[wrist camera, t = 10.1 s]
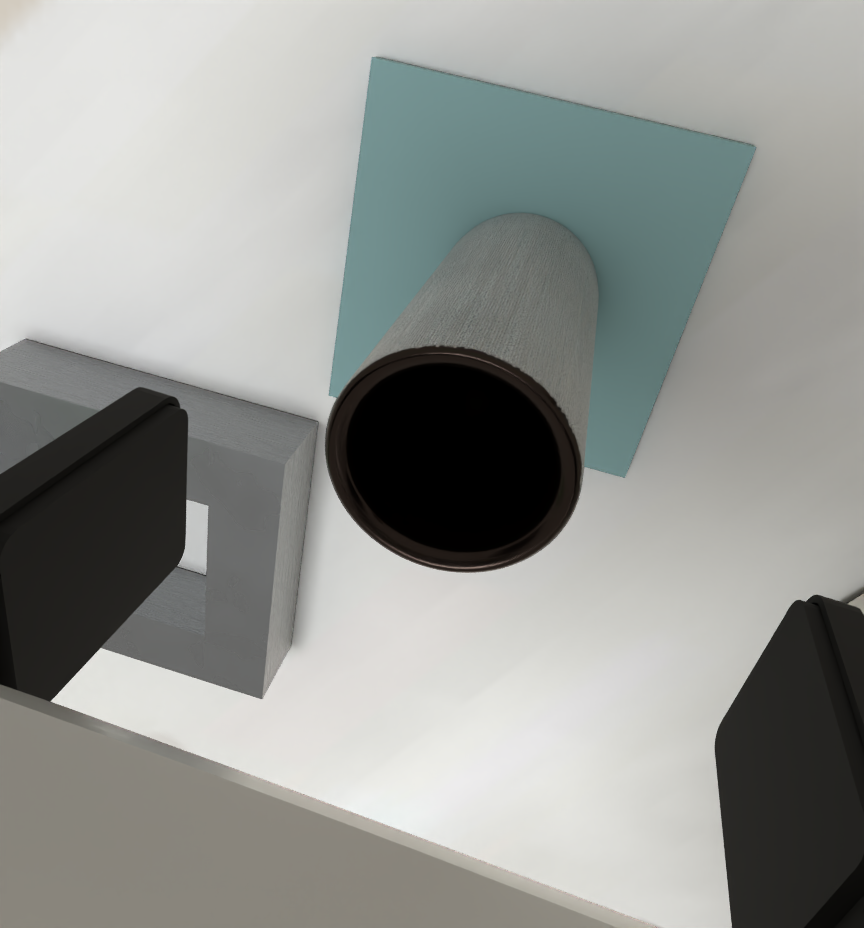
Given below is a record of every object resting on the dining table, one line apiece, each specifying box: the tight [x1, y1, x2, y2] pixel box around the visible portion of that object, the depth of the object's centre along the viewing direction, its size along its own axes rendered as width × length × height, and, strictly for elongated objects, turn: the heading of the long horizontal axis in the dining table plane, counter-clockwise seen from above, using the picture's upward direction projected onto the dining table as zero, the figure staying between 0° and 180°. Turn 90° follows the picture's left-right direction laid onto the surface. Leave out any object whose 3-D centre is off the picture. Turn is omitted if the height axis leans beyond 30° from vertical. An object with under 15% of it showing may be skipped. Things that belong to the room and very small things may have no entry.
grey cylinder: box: [325, 213, 599, 573], centre depth 17 cm, size 4×4×10 cm
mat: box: [329, 57, 756, 478], centre depth 21 cm, size 10×10×1 cm
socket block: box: [0, 339, 318, 699], centre depth 28 cm, size 11×11×3 cm
